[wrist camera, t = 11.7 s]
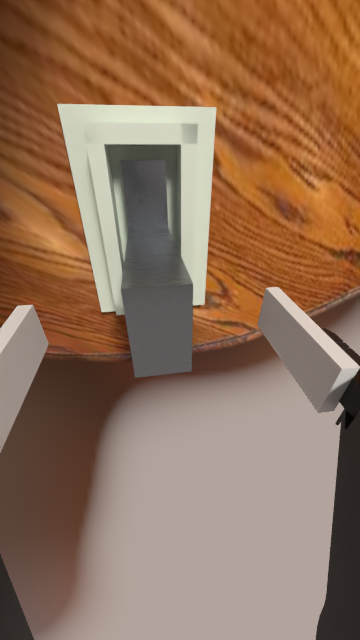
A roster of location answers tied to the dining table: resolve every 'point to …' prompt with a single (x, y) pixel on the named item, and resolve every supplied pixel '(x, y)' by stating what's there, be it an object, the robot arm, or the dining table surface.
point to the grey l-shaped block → (154, 276)
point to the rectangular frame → (108, 192)
